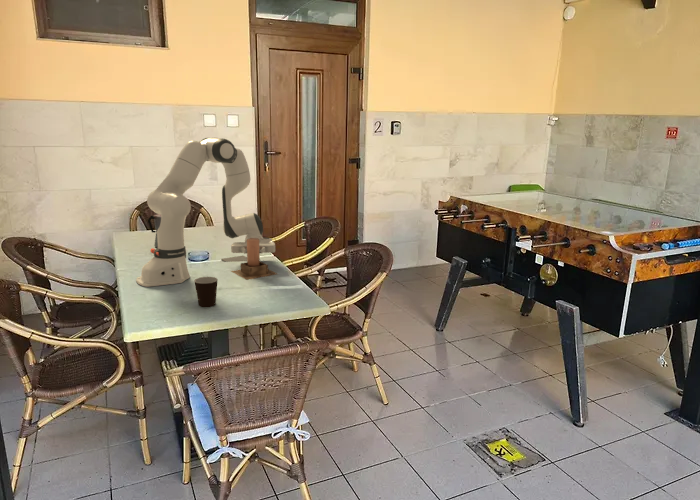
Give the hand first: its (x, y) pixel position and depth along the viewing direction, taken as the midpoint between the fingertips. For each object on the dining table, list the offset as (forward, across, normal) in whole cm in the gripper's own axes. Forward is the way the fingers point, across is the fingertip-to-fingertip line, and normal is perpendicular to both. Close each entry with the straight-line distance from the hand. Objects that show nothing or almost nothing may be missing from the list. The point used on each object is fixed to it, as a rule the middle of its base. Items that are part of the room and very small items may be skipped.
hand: (253, 251), depth 239 cm
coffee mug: (+35, -16, +12) cm, 41 cm away
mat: (-26, -8, +11) cm, 29 cm away
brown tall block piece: (0, 0, +9) cm, 9 cm away
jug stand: (-1, 0, +11) cm, 11 cm away
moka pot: (-60, -50, +12) cm, 79 cm away
